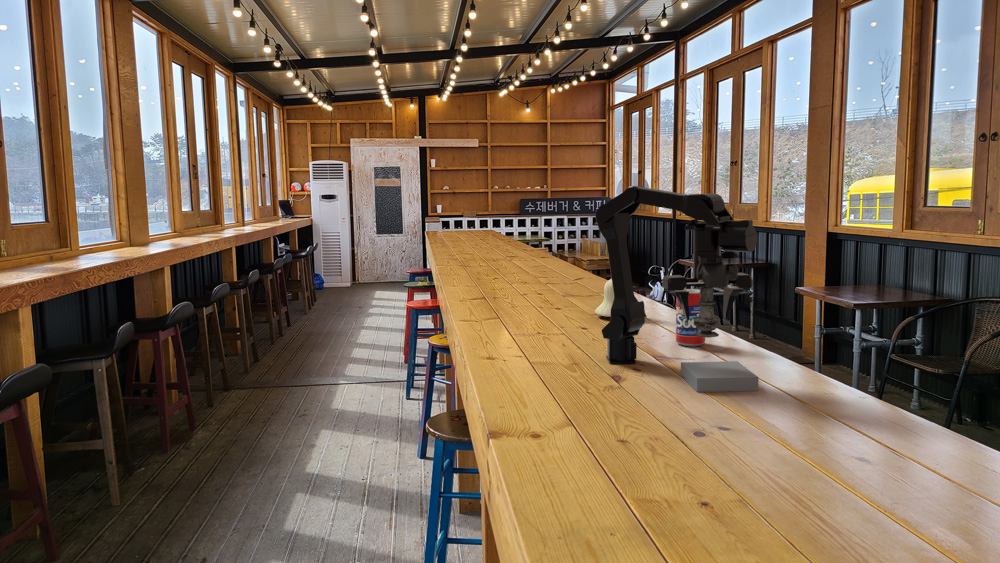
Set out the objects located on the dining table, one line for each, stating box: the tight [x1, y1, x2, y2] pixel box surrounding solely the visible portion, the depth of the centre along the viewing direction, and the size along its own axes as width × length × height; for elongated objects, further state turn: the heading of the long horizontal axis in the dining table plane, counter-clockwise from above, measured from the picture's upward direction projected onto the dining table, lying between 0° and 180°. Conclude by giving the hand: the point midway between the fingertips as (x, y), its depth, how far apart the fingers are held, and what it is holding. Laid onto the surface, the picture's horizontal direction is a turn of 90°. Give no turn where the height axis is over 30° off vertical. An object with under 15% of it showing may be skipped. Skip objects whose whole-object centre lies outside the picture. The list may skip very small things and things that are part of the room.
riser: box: [680, 360, 760, 393], centre depth 149 cm, size 13×13×3 cm
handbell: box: [594, 278, 614, 318], centre depth 222 cm, size 15×15×25 cm
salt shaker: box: [693, 286, 721, 338], centre depth 150 cm, size 6×6×12 cm
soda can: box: [675, 288, 706, 348], centre depth 183 cm, size 8×8×15 cm
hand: (706, 319), depth 151 cm, fingers closed on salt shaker, 8 cm apart
